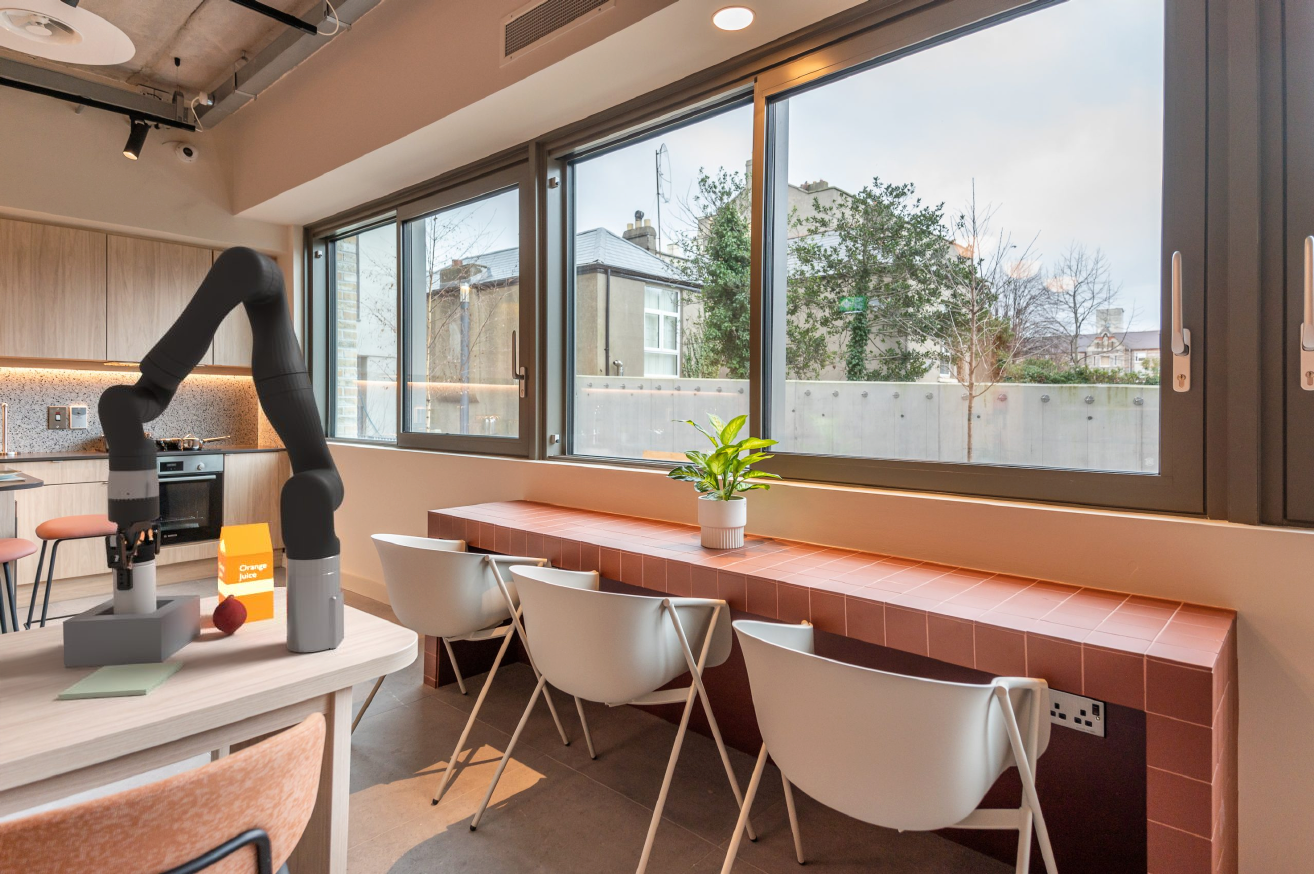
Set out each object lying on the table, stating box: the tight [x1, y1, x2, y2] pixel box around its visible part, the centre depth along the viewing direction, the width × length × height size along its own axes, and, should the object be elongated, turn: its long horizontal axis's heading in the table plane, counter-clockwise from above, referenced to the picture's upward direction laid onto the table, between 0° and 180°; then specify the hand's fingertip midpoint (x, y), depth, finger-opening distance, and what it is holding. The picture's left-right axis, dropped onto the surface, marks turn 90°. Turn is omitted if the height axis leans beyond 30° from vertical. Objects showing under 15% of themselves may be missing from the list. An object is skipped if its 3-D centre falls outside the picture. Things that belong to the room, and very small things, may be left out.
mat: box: [57, 661, 184, 700], centre depth 113 cm, size 12×12×1 cm
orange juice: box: [217, 522, 275, 624], centre depth 147 cm, size 8×9×20 cm
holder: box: [62, 594, 201, 668], centre depth 128 cm, size 15×15×8 cm
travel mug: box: [112, 540, 157, 615], centre depth 127 cm, size 6×7×20 cm
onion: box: [212, 594, 247, 635], centre depth 137 cm, size 6×6×8 cm
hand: (135, 584), depth 127 cm, fingers closed on travel mug, 6 cm apart
